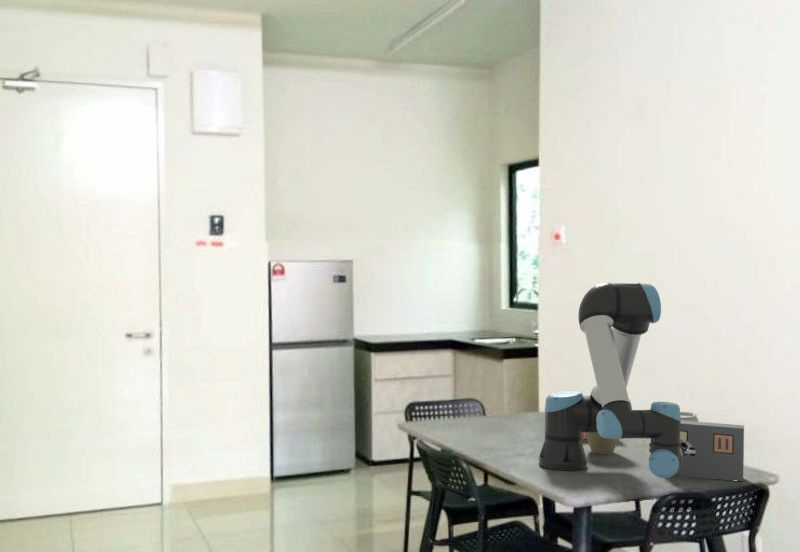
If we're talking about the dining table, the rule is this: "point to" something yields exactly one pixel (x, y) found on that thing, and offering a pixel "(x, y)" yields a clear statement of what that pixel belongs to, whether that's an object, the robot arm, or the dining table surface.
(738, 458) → the button panel
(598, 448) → the plant pot
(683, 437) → the button one
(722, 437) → the button two
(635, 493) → the dining table surface
